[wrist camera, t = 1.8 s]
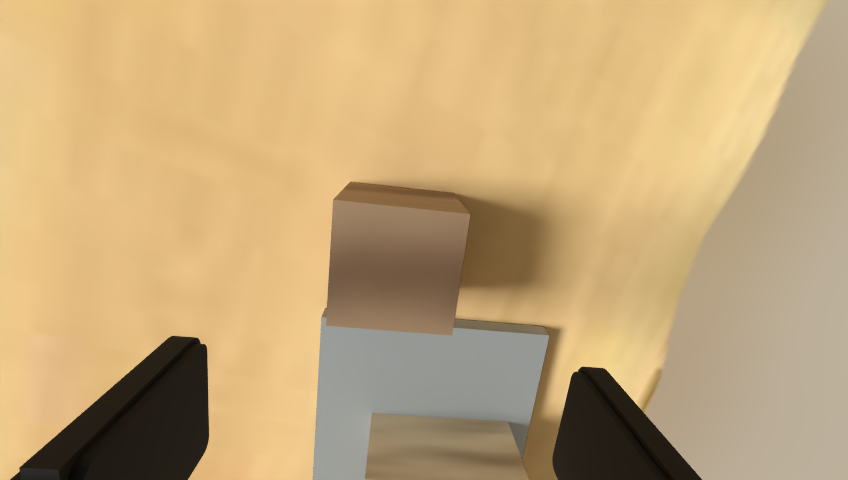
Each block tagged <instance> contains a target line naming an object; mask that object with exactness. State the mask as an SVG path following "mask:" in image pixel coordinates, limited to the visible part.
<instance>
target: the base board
mask: <svg viewBox="0 0 848 480" xmlns="http://www.w3.org/2000/svg"><path fill="white" fill-rule="evenodd" d="M326 318H327V308H325V310H324V313H323V315H322V318H321V336H320V355H319V374H318V392H317V411H316V429H315V448H314V466H313V480H365V473H366V463H367V454H368V444H369V435H370V425H371V415H372V413H377V414H393V415H409V416H426V417H442V418H458V419H475V420H491V421H507V422H508V423H509V426H510V428H511V431H512V434H513V437H514V439H515V442H516V445H517V448H518V450H519V453H520V456H521V459H522V456H523V452H524V447H525V443H526V438H527V434H528V430H529V425H530V421H531V416H532V412H533V407H534V403H535V398H536V394H537V389H538V385H539V380H540V376H541V371H542V367H543V362H544V358H545V353H546V349H547V344H548V340H549V334H548V333H547V331H546V330H545V329H544V327H543V326H534V325H522V324H509V323H497V322H485V321H473V320H461V319H455V320H454V327H453V334H452V336H450V335H438V334H425V333H412V332H399V331H387V330H374V329H361V328H348V327H336V326H326Z"/></svg>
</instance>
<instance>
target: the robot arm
mask: <svg viewBox="0 0 848 480" xmlns="http://www.w3.org/2000/svg"><path fill="white" fill-rule="evenodd" d="M208 440H209V416H208V368H207V347H206V345H205V344H200V340H199V339H198V338H194V337H180V336H171V337H170V338H168V339H167V340H166V341H165V342H164V343H162V344H161V345H160V346H159V347H158V348H157V349H155V350H154V351H153V352H152V353H151V354H150V355H149V356H147V357H146V358H145V359H144V360H143V361H142V362H141V363H139V364H138V365H137V366H136V367H135V368H134V369H132V370H131V371H130V372H129V373H128V374H127V375H126V376H124V377H123V378H122V379H121V380H120V381H119V382H118V383H116V384H115V385H114V386H113V387H112V388H111V389H110V390H108V391H107V392H106V393H105V394H104V395H103V396H101V397H100V398H99V399H98V400H97V401H96V402H95V403H93V404H92V405H91V406H90V407H89V408H88V409H87V410H85V411H84V412H83V413H82V414H81V415H80V416H78V417H77V418H76V419H75V420H74V421H73V422H72V423H70V424H69V425H68V426H67V427H66V428H65V429H64V430H62V431H61V432H60V433H59V434H58V435H57V436H55V437H54V438H53V439H52V440H51V441H50V442H49V443H47V444H46V445H45V446H44V447H43V448H42V449H41V450H39V451H38V452H37V453H36V454H35V455H34V456H33V457H31V458H30V459H29V460H28V461H27V462H26V463H24V464H23V465H22V466H21V467H20V472H19V473H17V474H16V475H15V476H14V477H13V478H12V479H11V480H188V478H189V477H190V475H191V474H192V472H193V470H194V469H195V467H196V466H197V464H198V462H199V461H200V459H201V457H202V456H203V454H204V452H205V450H206V448H207V444H208ZM553 468H554V471H555V474H556V476H557V478H558V480H702V479H701V478H700V477H699V476H698V475H697V474H696V472H695V471H694V470H693V469H692V468H691V467H690V465H689V464H688V463H687V462H686V461H685V460H684V459H683V458H682V456H681V455H680V454H679V453H678V452H677V450H676V449H675V448H674V447H673V446H672V445H671V444H670V442H669V441H668V440H667V439H666V438H665V437H664V436H663V434H662V433H661V432H660V431H659V430H658V429H657V428H656V426H655V425H654V424H653V423H652V422H651V421H650V420H649V419H648V417H647V416H646V415H645V414H644V413H643V412H642V410H641V409H640V408H639V407H638V406H637V405H636V404H635V402H634V401H633V400H632V399H631V398H630V397H629V395H628V394H627V393H626V392H625V391H624V390H623V389H622V387H621V386H620V385H619V384H618V383H617V382H616V381H615V379H614V378H613V377H612V376H611V375H610V374H609V373H608V371H607V370H605V369H603V368H593V367H581V368H580V369H579V370H578V372H574V373H573V374H572V377H571V381H570V385H569V389H568V394H567V398H566V402H565V406H564V411H563V415H562V419H561V423H560V427H559V432H558V436H557V440H556V444H555V449H554V453H553Z"/></svg>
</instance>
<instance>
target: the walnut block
mask: <svg viewBox="0 0 848 480" xmlns="http://www.w3.org/2000/svg"><path fill="white" fill-rule="evenodd" d="M470 215H471V214H470V213H469V212H468V210H467V209H466V208H465V207H464V205H463V204H462V203H461V202H460V200H459V199H458V198H457V197H456V195H455V194H454V193H448V192H439V191H430V190H421V189H411V188H402V187H393V186H384V185H375V184H366V183H356V182H350V183H349V184H348V185H347V186H346V187H345V188H344V189H343V190H342V191H341V192H340V193H339V194H338V195H337V196H336V197H335V198H334V200H333V214H332V231H331V248H330V266H329V283H328V300H327V318H326V326H336V327H348V328H361V329H374V330H387V331H399V332H412V333H425V334H438V335H450V336H452V334H453V327H454V320H455V314H456V307H457V301H458V294H459V287H460V281H461V274H462V268H463V261H464V254H465V248H466V241H467V234H468V228H469V221H470Z"/></svg>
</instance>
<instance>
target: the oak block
mask: <svg viewBox="0 0 848 480" xmlns="http://www.w3.org/2000/svg"><path fill="white" fill-rule="evenodd" d="M365 480H529V478H528V475H527V472H526V470H525V467H524V464H523V461H522V459H521V456H520V453H519V450H518V448H517V445H516V442H515V439H514V437H513V434H512V431H511V428H510V426H509V423H508V422H507V421H491V420H475V419H458V418H442V417H426V416H409V415H393V414H377V413H372V415H371V425H370V435H369V444H368V454H367V463H366V473H365Z"/></svg>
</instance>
